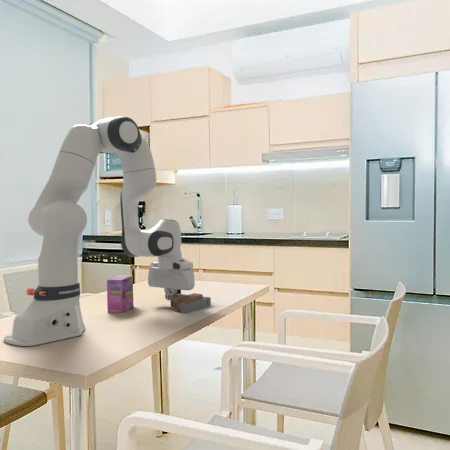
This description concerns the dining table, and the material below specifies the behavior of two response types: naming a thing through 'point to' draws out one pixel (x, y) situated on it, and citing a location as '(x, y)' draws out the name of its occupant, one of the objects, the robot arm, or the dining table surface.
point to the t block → (183, 300)
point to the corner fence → (195, 305)
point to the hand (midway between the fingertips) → (171, 300)
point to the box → (120, 293)
